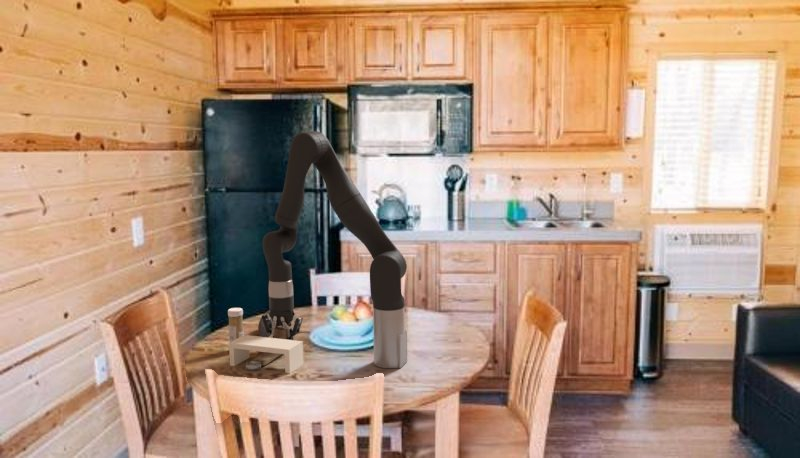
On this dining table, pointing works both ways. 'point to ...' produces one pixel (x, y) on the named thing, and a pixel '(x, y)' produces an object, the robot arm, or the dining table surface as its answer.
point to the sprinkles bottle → (235, 323)
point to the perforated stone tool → (263, 327)
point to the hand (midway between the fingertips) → (283, 346)
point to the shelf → (267, 350)
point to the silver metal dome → (253, 366)
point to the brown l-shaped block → (268, 357)
